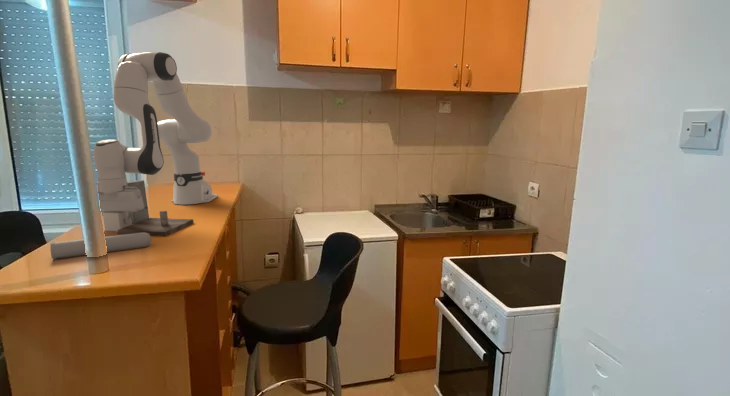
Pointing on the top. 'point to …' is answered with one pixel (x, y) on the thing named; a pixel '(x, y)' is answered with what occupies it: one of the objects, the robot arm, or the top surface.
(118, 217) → the grey cube
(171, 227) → the peg board
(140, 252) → the top surface
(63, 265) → the top surface
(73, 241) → the tube
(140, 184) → the skincare box
